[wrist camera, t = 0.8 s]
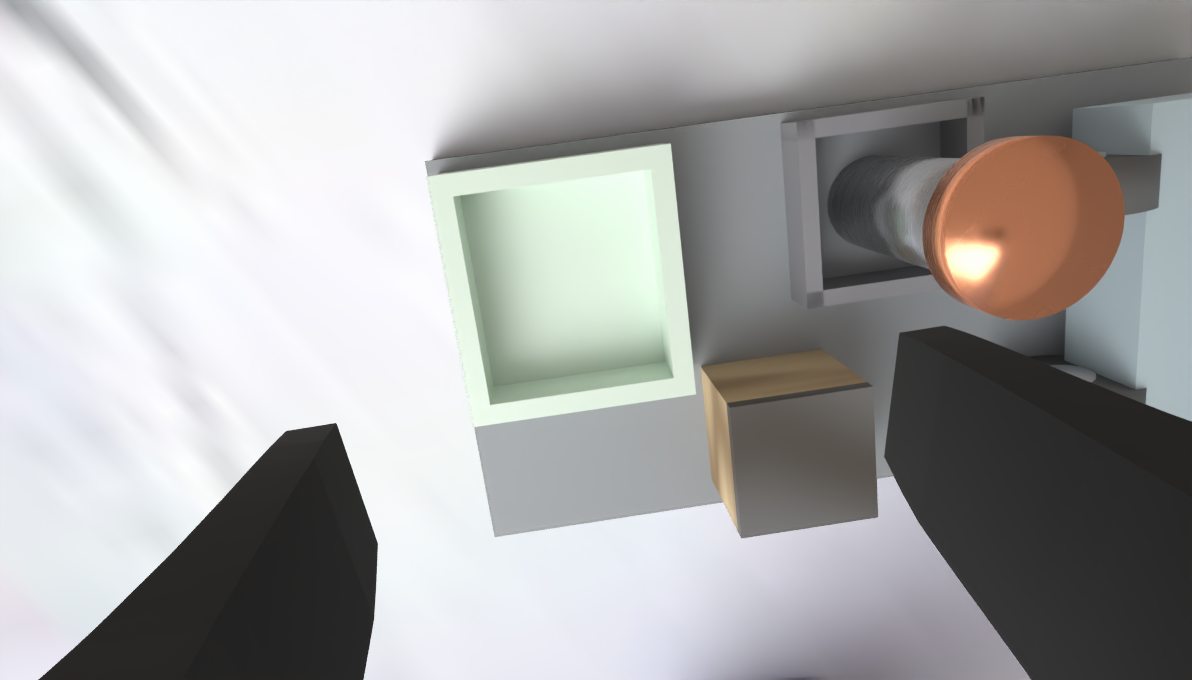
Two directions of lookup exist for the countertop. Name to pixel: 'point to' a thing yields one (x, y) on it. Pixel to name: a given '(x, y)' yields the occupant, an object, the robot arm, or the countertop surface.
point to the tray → (566, 282)
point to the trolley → (1140, 259)
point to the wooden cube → (791, 442)
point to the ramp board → (777, 281)
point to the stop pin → (990, 220)
